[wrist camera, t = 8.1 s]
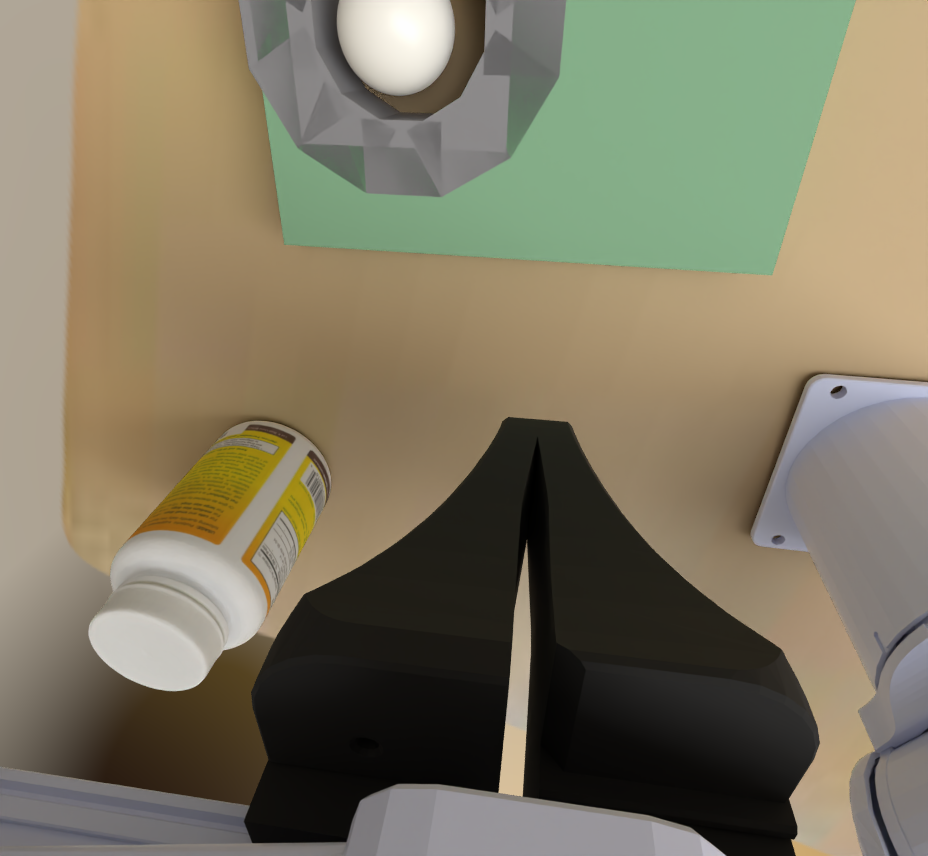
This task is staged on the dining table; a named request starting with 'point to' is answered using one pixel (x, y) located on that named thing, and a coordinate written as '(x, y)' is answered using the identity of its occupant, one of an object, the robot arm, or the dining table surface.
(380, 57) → the ball
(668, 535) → the dining table surface
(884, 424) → the robot arm
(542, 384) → the dining table surface
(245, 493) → the supplement bottle
